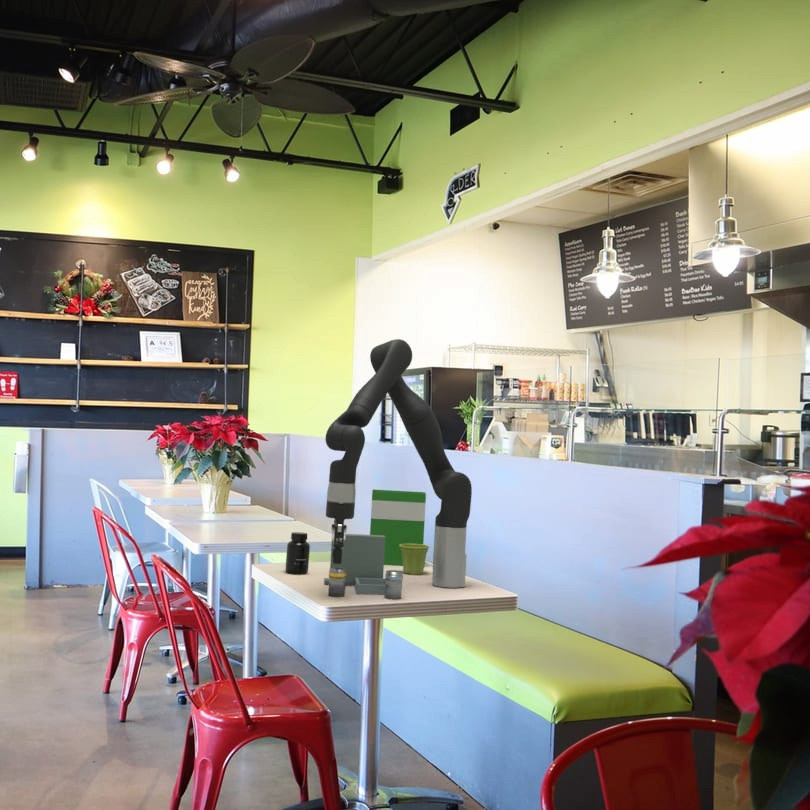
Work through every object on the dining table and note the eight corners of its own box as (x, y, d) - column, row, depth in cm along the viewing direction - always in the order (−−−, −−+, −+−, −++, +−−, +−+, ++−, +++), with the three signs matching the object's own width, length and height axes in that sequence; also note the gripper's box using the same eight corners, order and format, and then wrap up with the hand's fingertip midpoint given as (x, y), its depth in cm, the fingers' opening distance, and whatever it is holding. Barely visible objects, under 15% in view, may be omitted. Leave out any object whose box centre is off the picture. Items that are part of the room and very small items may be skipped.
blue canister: (400, 596, 246) (402, 570, 246) (402, 600, 242) (403, 573, 242) (383, 596, 246) (385, 569, 246) (385, 599, 241) (386, 572, 241)
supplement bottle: (299, 575, 271) (301, 535, 271) (280, 572, 274) (283, 532, 274) (312, 573, 277) (314, 533, 277) (294, 570, 280) (296, 530, 280)
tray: (393, 588, 259) (394, 579, 259) (397, 595, 248) (397, 586, 248) (354, 586, 258) (355, 577, 258) (356, 593, 247) (357, 584, 247)
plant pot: (401, 575, 281) (403, 547, 282) (395, 570, 291) (396, 543, 291) (431, 576, 284) (432, 547, 284) (423, 571, 293) (425, 543, 293)
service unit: (386, 584, 265) (389, 535, 265) (388, 587, 260) (390, 537, 260) (324, 581, 263) (326, 532, 263) (324, 584, 258) (327, 534, 258)
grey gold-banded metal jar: (344, 594, 245) (346, 568, 246) (345, 597, 241) (346, 570, 241) (327, 593, 245) (329, 567, 245) (327, 597, 240) (329, 570, 240)
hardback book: (368, 564, 301) (372, 490, 301) (368, 560, 308) (372, 489, 309) (422, 567, 301) (426, 493, 302) (421, 563, 308) (425, 492, 309)
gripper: (326, 497, 250) (322, 556, 250) (326, 501, 236) (322, 564, 236) (354, 498, 251) (350, 558, 251) (356, 503, 237) (351, 566, 236)
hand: (336, 561), depth 243 cm, fingers open, 8 cm apart
